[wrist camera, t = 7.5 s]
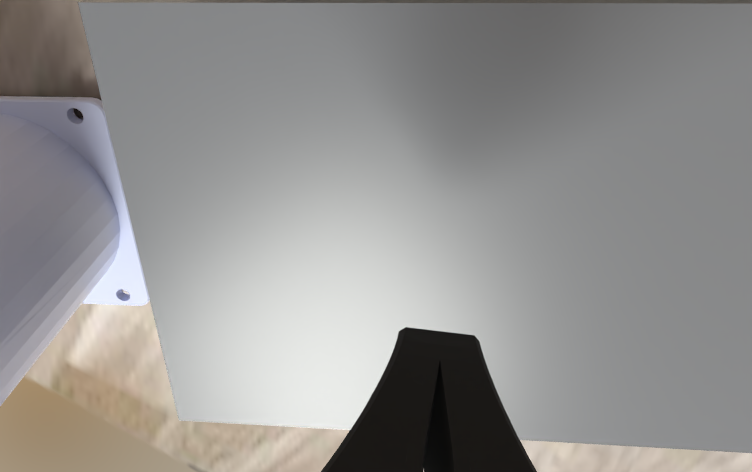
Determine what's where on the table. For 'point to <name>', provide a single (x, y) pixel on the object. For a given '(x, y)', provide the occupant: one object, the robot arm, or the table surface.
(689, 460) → the table surface
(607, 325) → the camera housing
